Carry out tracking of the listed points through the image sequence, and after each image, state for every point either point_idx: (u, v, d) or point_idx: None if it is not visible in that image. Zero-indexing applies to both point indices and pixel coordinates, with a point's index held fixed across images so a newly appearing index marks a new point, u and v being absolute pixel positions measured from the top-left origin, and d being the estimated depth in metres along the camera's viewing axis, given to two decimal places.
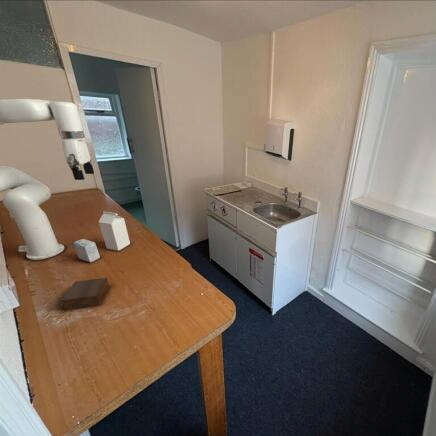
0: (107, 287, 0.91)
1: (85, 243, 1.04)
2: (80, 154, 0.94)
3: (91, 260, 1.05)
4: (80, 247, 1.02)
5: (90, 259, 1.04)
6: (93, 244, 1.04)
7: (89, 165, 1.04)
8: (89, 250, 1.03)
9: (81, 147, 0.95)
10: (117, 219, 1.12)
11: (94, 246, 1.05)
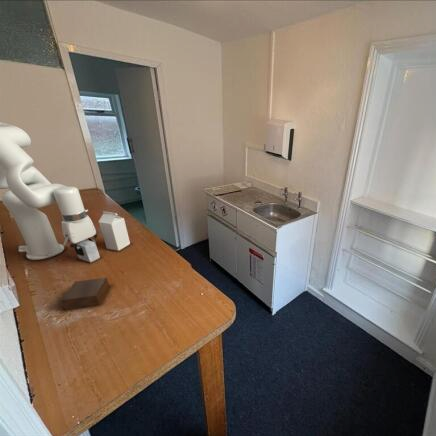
0: (107, 287, 0.91)
1: (85, 243, 1.04)
2: (73, 235, 0.98)
3: (91, 260, 1.05)
4: None
5: (90, 259, 1.04)
6: (93, 244, 1.04)
7: None
8: (89, 250, 1.03)
9: (78, 227, 0.98)
10: (117, 219, 1.12)
11: (95, 246, 1.05)
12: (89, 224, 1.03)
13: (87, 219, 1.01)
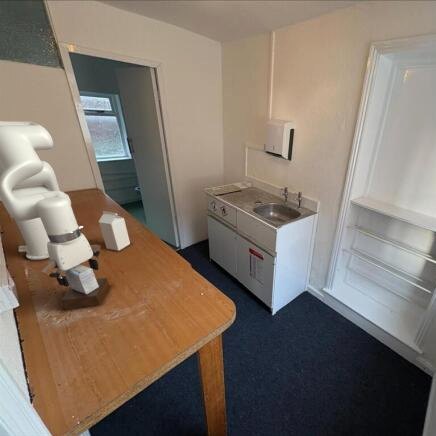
0: (107, 287, 0.91)
1: (80, 269, 0.81)
2: (63, 260, 0.75)
3: (87, 291, 0.82)
4: (73, 276, 0.80)
5: (86, 290, 0.82)
6: (90, 271, 0.82)
7: (93, 261, 0.85)
8: (85, 279, 0.81)
9: (70, 249, 0.76)
10: (117, 219, 1.12)
11: (92, 274, 0.82)
12: (84, 245, 0.80)
13: (81, 238, 0.78)
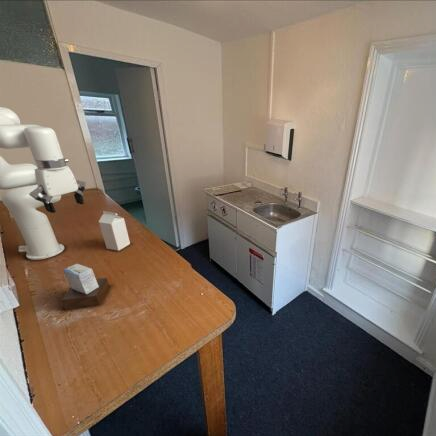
0: (107, 287, 0.91)
1: (80, 270, 0.81)
2: (50, 186, 0.82)
3: (87, 291, 0.82)
4: (73, 276, 0.80)
5: (86, 290, 0.82)
6: (90, 271, 0.82)
7: (78, 195, 0.93)
8: (85, 279, 0.81)
9: (55, 177, 0.83)
10: (117, 219, 1.12)
11: (92, 274, 0.82)
12: (69, 176, 0.87)
13: (67, 170, 0.86)
